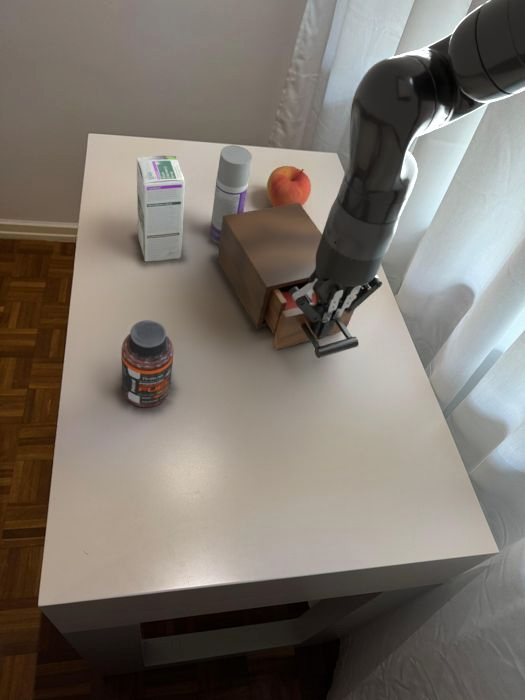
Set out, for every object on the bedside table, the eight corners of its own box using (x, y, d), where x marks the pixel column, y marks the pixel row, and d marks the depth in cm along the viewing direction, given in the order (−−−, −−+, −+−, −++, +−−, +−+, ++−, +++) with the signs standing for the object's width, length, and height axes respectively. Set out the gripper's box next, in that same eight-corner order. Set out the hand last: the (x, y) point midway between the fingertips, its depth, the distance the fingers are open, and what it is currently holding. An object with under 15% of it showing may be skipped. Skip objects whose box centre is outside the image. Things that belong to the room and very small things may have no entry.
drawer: (365, 359, 80) (381, 328, 75) (294, 381, 76) (305, 350, 71) (302, 266, 90) (312, 233, 84) (236, 281, 85) (242, 247, 80)
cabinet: (331, 309, 86) (347, 268, 80) (256, 328, 82) (266, 287, 75) (287, 244, 94) (299, 202, 87) (216, 259, 89) (222, 215, 82)
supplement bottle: (139, 417, 70) (138, 363, 61) (113, 383, 72) (109, 326, 63) (179, 395, 73) (185, 339, 64) (153, 363, 75) (155, 305, 66)
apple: (261, 192, 101) (269, 152, 95) (301, 195, 102) (311, 156, 96) (265, 220, 96) (274, 180, 90) (307, 222, 98) (318, 183, 92)
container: (227, 222, 94) (239, 141, 83) (244, 239, 93) (259, 159, 81) (204, 231, 92) (213, 149, 80) (221, 249, 90) (233, 168, 79)
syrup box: (181, 259, 88) (188, 179, 76) (143, 263, 86) (143, 182, 74) (173, 233, 91) (178, 154, 79) (136, 237, 89) (135, 155, 78)
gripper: (323, 269, 60) (289, 366, 73) (422, 246, 65) (373, 341, 79) (290, 223, 64) (264, 323, 77) (386, 204, 69) (346, 302, 82)
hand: (319, 332), depth 78 cm, fingers closed
